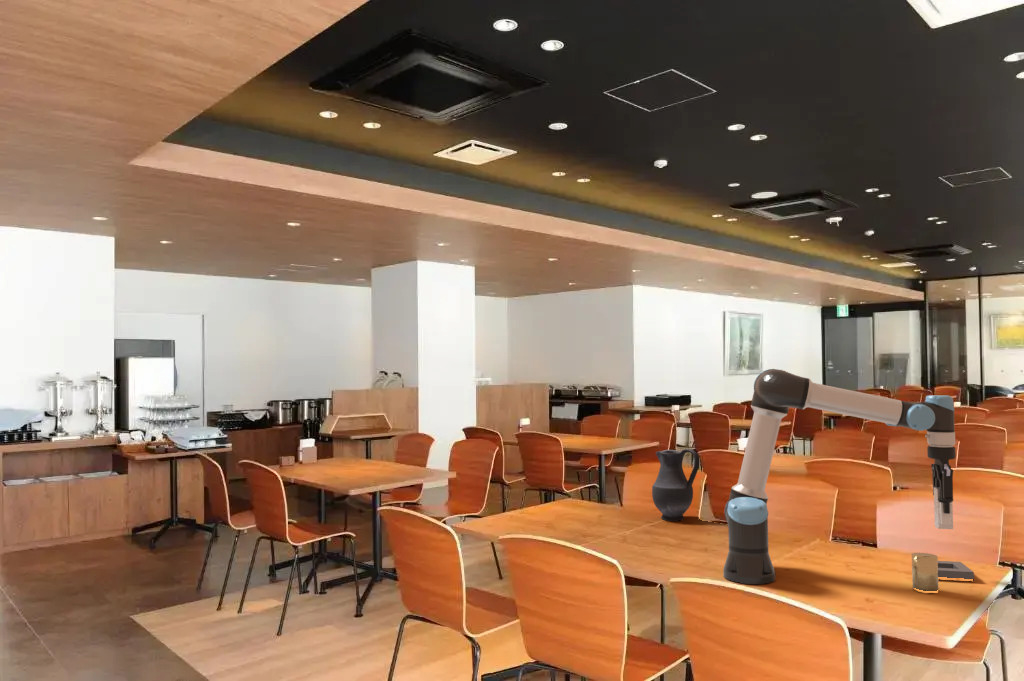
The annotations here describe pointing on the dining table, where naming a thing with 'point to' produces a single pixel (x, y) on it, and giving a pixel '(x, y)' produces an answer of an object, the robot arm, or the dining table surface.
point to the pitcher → (673, 484)
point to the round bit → (925, 571)
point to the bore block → (954, 570)
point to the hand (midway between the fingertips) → (943, 522)
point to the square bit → (937, 511)
